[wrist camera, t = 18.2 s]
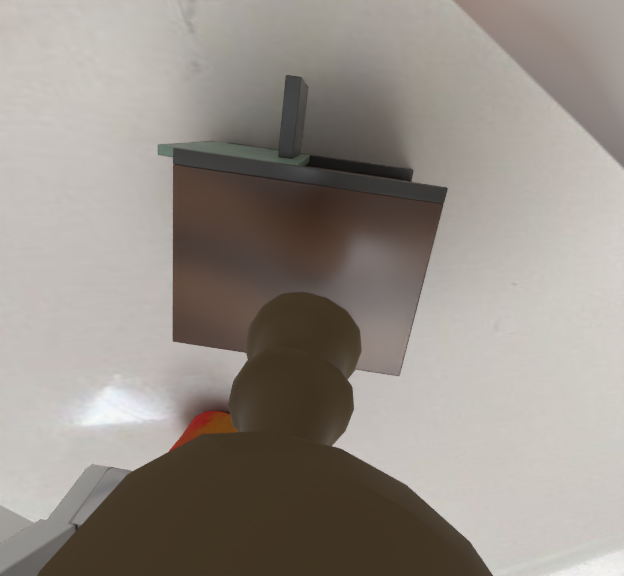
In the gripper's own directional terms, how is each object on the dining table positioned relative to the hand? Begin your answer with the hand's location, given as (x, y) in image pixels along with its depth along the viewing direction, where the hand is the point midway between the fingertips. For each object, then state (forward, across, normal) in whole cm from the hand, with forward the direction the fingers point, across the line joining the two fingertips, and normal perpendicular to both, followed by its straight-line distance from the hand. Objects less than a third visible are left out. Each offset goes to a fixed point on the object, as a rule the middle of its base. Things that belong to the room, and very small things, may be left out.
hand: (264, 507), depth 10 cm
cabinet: (+28, +1, 0) cm, 28 cm away
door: (+28, +6, -9) cm, 30 cm away
